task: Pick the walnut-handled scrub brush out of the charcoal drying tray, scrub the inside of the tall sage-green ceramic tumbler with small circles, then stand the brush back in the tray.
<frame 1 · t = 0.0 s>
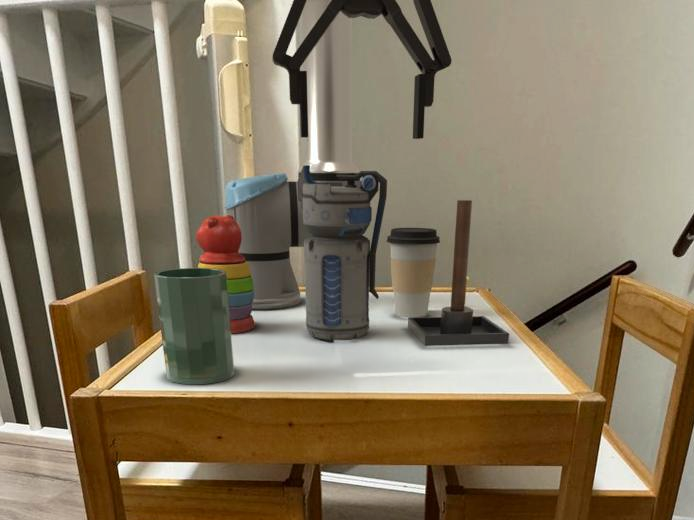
hand: (361, 138, 79), 28 cm above the table, tool pointing down, fingers open, 13 cm apart
coffee cup: (410, 317, 123), on the table
stacking bear: (226, 328, 113), on the table
brush: (455, 334, 108), resting on tray
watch: (459, 310, 129), on the table
grey grenade canister: (343, 337, 108), on the table
tumbler: (201, 374, 88), on the table
tray: (455, 337, 108), on the table
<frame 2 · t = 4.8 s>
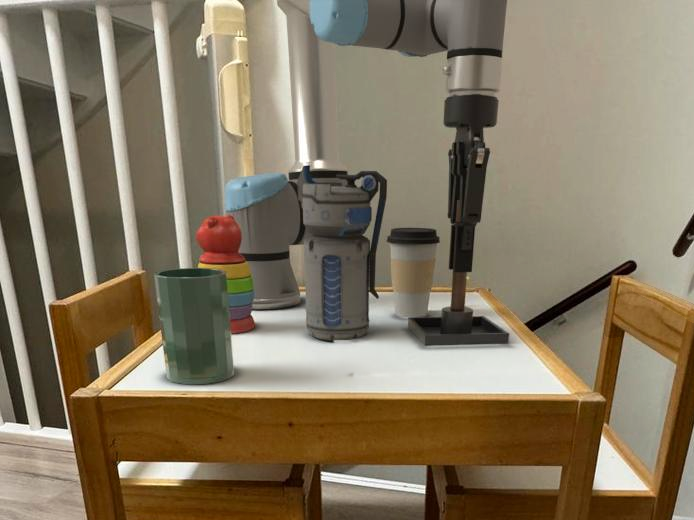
hand: (460, 270, 103), 10 cm above the table, tool pointing down, fingers closed on brush, 2 cm apart
brush: (455, 334, 108), point 1 cm above the table, touching gripper, tray
everything else where it was.
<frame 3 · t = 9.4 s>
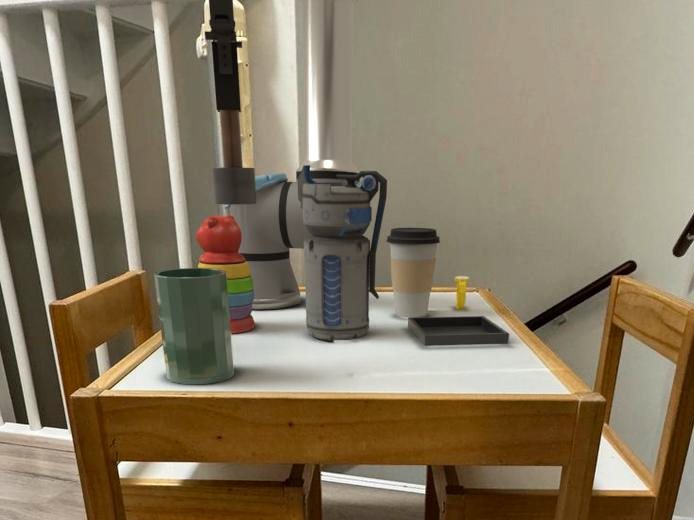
hand: (229, 110, 77), 31 cm above the table, tool pointing down, fingers closed on brush, 2 cm apart
brush: (235, 203, 82), point 21 cm above the table, touching gripper
everything else where it was.
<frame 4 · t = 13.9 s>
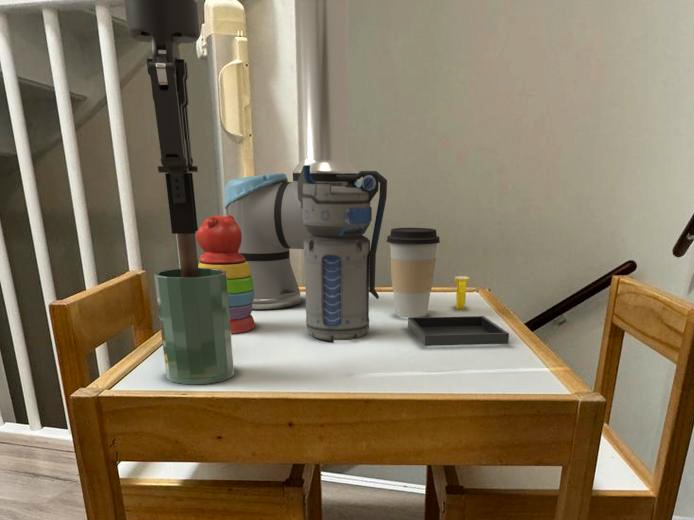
hand: (185, 231, 81), 18 cm above the table, tool pointing down, fingers closed on brush, 2 cm apart
brush: (194, 314, 85), point 8 cm above the table, touching gripper
everything else where it was.
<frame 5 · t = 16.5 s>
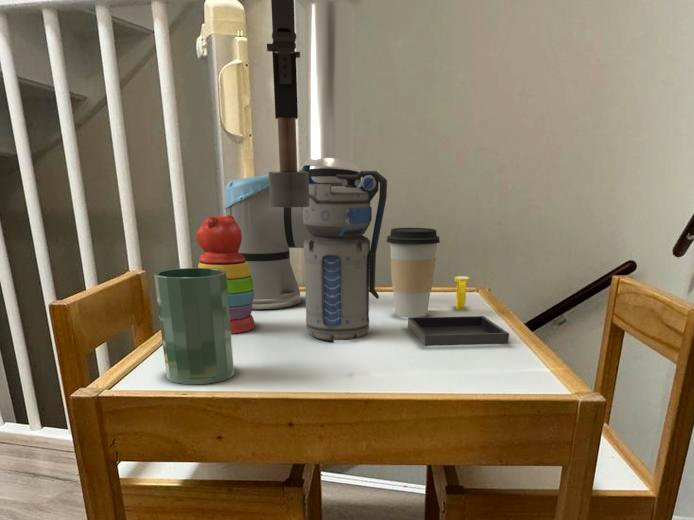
hand: (286, 117, 81), 30 cm above the table, tool pointing down, fingers closed on brush, 2 cm apart
brush: (289, 206, 86), point 20 cm above the table, touching gripper
everything else where it was.
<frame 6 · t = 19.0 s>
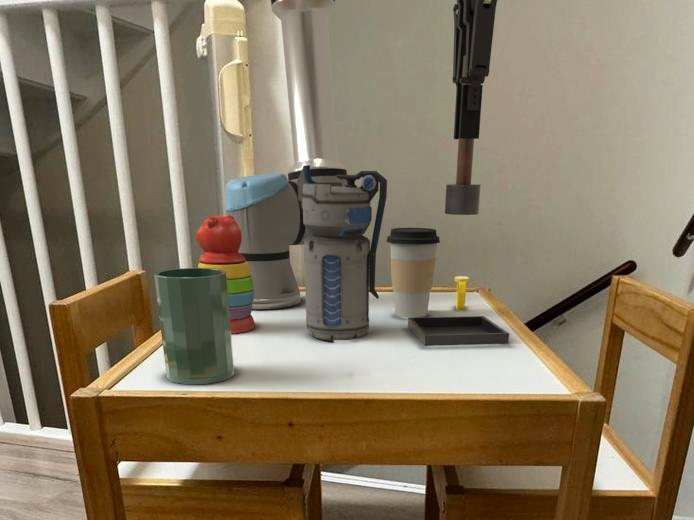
hand: (466, 138, 95), 29 cm above the table, tool pointing down, fingers closed on brush, 2 cm apart
brush: (461, 213, 99), point 19 cm above the table, touching gripper
everything else where it was.
when the fingers open (10 cm above the table, at t = 23.0 s): brush stays where it is, resting on tray.
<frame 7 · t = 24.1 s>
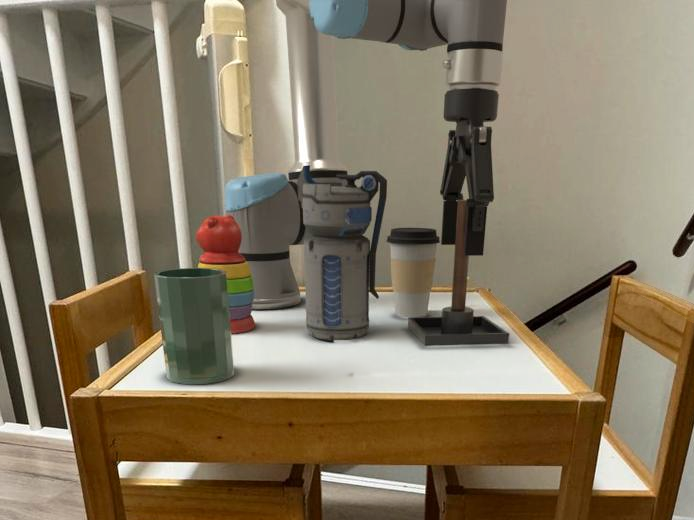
hand: (460, 249, 102), 13 cm above the table, tool pointing down, fingers open, 13 cm apart
brush: (456, 334, 108), resting on tray
everything else where it was.
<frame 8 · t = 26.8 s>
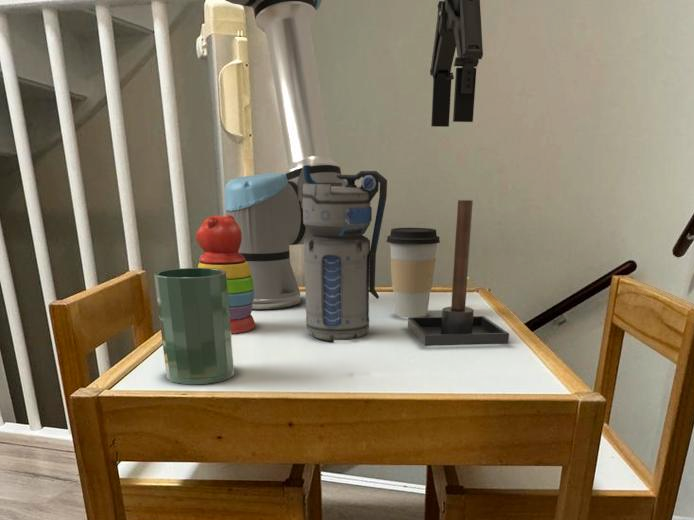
hand: (450, 124, 101), 31 cm above the table, tool pointing down, fingers open, 13 cm apart
nothing on the table moved.
at the end: brush inside the target area in the tray (0.1 cm from its centre), point 0.5 cm above the tray's base; brush tilted 0°; tumbler moved 0.0 cm from its start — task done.
